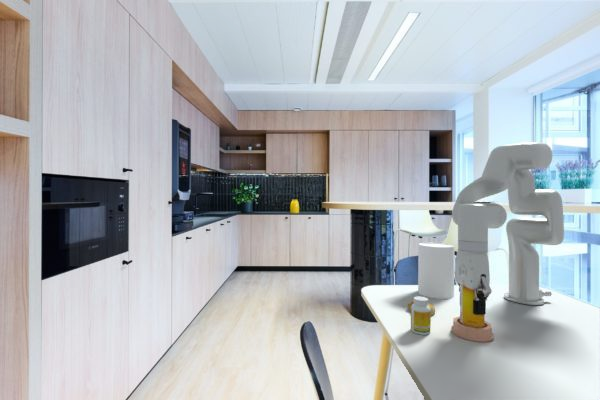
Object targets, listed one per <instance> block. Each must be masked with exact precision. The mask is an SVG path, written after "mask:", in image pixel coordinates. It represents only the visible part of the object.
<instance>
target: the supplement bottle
mask: <svg viewBox="0 0 600 400" xmlns="http://www.w3.org/2000/svg"><path fill="white" fill-rule="evenodd" d="M413 300H414V301H413ZM413 300H412V301H413V302H414V304H412V306H411V311H410V331H411V332H412V333H414V334H417V335H421V336H424V335H425V336H426V335H429V334H430V333H431V326H432V325H431V323H432V322H431V321H432V320H431V318H432V317H431V309H430V307H429V306H428V303H429V297H426V296H421V295H420V296H419V295H417V296H414V297H413Z"/></svg>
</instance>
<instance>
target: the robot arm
mask: <svg viewBox="0 0 600 400" xmlns="http://www.w3.org/2000/svg"><path fill="white" fill-rule="evenodd" d="M552 162H553V151H552V148H551V147H550V145H548V144H546V143H543V142H542V143H541V142H535V141H534V142H532V141H531V142H520V143H512V144H503V145H499V146H496V147H494V148H493V149H492V150H491V151H490V153H489V155H488V159H487V160H486V163H485V166H484V168H483V172H482V173H481V176H480V177H479V178H477V179H475V180H474V181H472V182H470V183H469V184H468V185H466V186H465V187H464V188H462V190H461V191H459V193H458V195H457V197H456V199H455V202H454V205H453V208H452V212H451V217H452V221H453V223H454V224H455V225H457V252H456V255H455V256H456V258H455V263H454V282H456V283H457V285H458V292H459V293H460V276H461V275H462V274H463V275H464V277H466V278H465V287H467V288H468V289H471V290H473V292H474V297H475V300H473V314H475V315H486V313H487V309H486V308H487V307H486V304H487V303H486V302H487V301H488V297H489V296H490V295H491V294H492V292H493V290H492V287H491V286H490V285H491V284H490V281H491V279H490V278H491V277H490V276H491V275H490V264H489V261H490V260H489V256H488V253H489V243H488V242H489V229H499V228H501V227H503V226H504V224H505V223H506V227H505V230H506V236H507V242H508V243H507V244H508V292H505V293H504V294H503V298H504V299H505V300H507V301H510V302H513V303H515V304H516V303H517V304H522V305H528V306H541V305H544V304H545V299H544V297H552V295H553V294H552V291H550V290H542V289H540V255H539V252H538V251H537V250H536V248H535V247H534V246H533V244H535V245H543V246H544V245H546V246H558V245H561V244H562V243H563V241H564V238H565V225H564V224H565V221H564V204H563V199H562V196H561V193H559V192H558V191H557V190H554V189H537V188H536V181H535V176H534V174H533V172H532V171H531V170H543V169H544V170H545V169H547V168H548V167H549V166H550V165H551V163H552ZM506 190H507V199H508V207H509V211H510V212H511V213H512V214H513V215H518V216H533V217H515V218H511V219H509V220H508V221H507V218H508V217H507V215H508V214H507V211H506V209H505V208H504V206H502V205H501V204H499V203H494V202H492V203H491V202H478V201H479V200H482V199H484V198H486V197H487V198H488V197H491V196H495V195H497V194H500V193H502V192H504V191H506ZM535 216H537V217H539V216H540V217H544V218H537V217H535ZM506 221H507V222H506ZM478 286H482V288H478ZM478 291H482V292H481V293H480V294H479V295H478Z"/></svg>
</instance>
